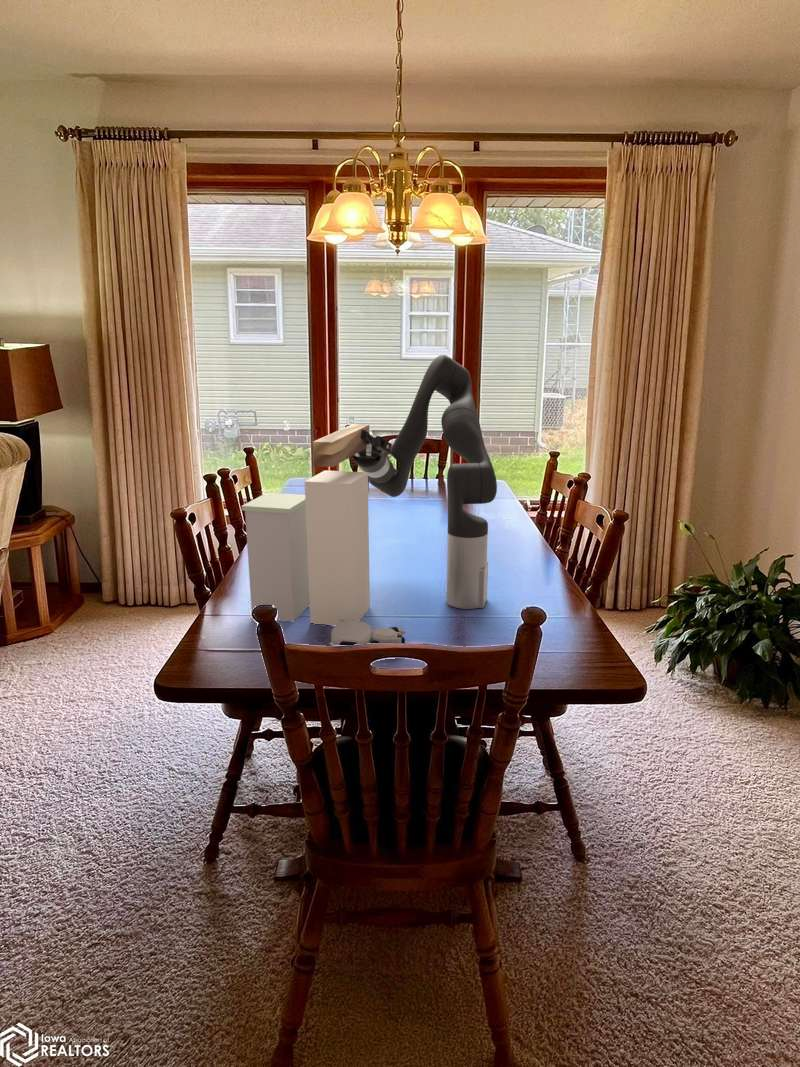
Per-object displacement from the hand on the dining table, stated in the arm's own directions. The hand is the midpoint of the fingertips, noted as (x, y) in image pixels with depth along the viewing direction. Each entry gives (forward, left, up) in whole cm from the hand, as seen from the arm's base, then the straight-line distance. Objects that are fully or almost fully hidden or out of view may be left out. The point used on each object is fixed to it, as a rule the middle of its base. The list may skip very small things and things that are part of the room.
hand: (352, 433), depth 161 cm
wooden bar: (0, +7, -4) cm, 8 cm away
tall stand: (0, +12, -40) cm, 41 cm away
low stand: (+14, +12, -40) cm, 44 cm away
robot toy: (-11, +26, -40) cm, 49 cm away
